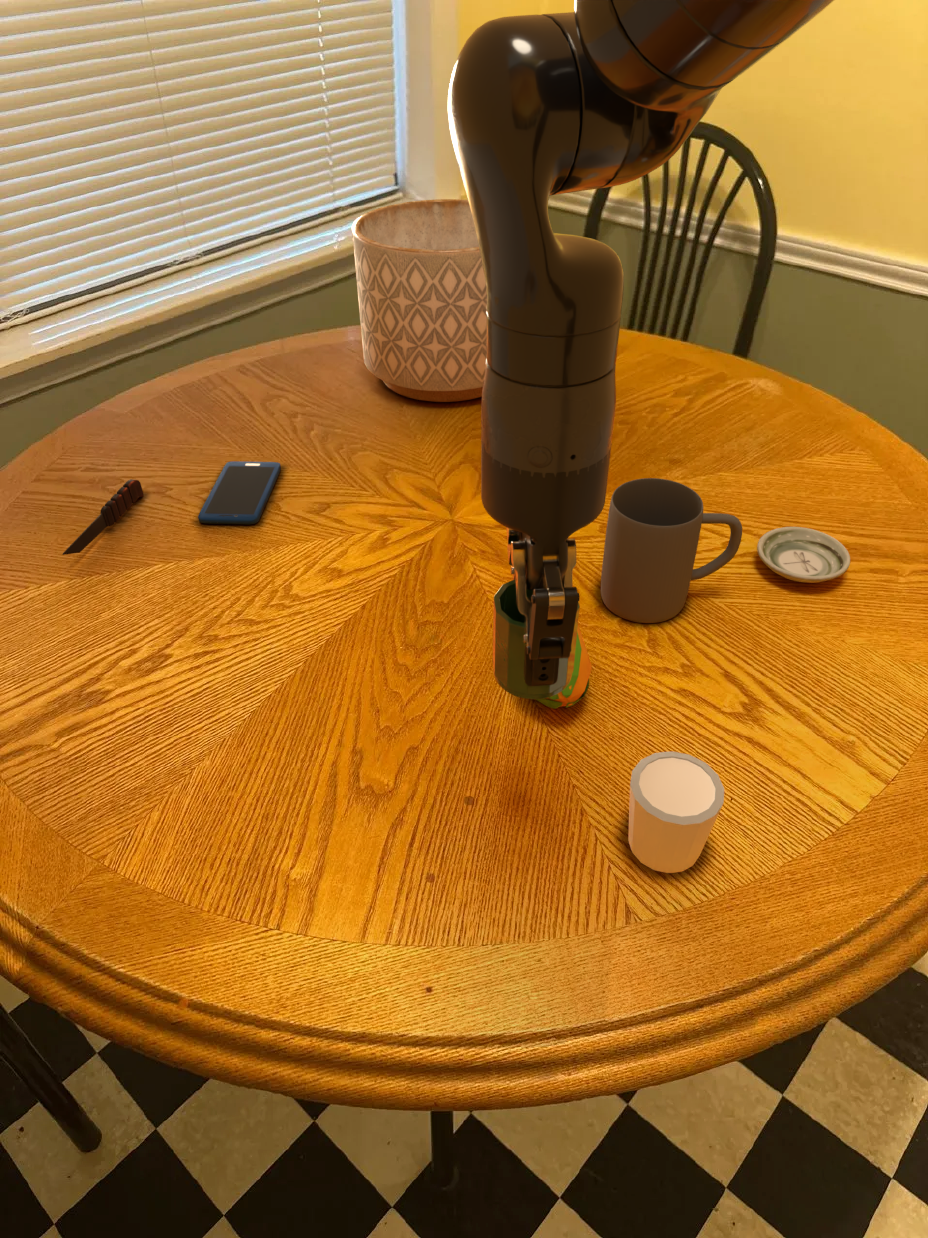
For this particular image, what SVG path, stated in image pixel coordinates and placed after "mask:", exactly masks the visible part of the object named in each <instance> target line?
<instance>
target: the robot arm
mask: <svg viewBox="0 0 928 1238" xmlns="http://www.w3.org/2000/svg"><path fill="white" fill-rule="evenodd" d="M833 2H835V0H573V11H571V12H570V11H569V12H555V13H542V14H523V15H522V14H521V15H510V16H502V17H498V18H494V19H491V20H488V21H486V22H484V23H482V25H480V26H479V27H477V28H476V29H475V30H474V31H473V32H472V34H470V36H469V37H468V38H467V40H466V41H465V43H464V45H463V46H462V48H461V50H460V52H459V54H458V56H457V58H456V61H455V64H454V66H453V69H452V73H451V77H450V81H449V82H450V83H449V87H448V92H447V93H448V95H447V117H448V128H449V134H450V139H451V143H452V148H453V152H454V156H455V159H456V163H457V167H458V171H459V174H460V177H461V181H462V184H463V188H464V191H465V195H466V198H467V200H468V202H469V206H470V210H471V214H472V218H473V222H474V227H475V232H476V236H477V241H478V245H479V250H480V255H481V260H482V265H483V270H484V276H485V282H486V291H487V309H486V310H487V312H486V370H485V377H484V383H483V391H482V397H481V405H480V406H481V408H480V409H481V410H480V411H481V412H480V413H481V420H480V421H481V423H480V425H481V434H480V435H481V438H480V439H481V440H480V442H481V443H480V444H481V445H480V446H481V447H480V449H481V450H480V452H481V453H480V456H481V457H480V496H481V497H480V498H481V503H482V506H483V508H484V510H485V512H486V513H487V515H489V517H490V518H491V519H493V520H494V521H495V522H497V523H498V524H500V525H501V526H503V527H505V530H506V537H507V538H506V540H507V547H506V550H507V556H508V557H507V558H508V560H507V561H508V565H510V566H511V567H510V575H512V580H514V579H516V605H517V607H518V610H519V612H520V613H521V614H523V615H524V632H525V635H523V643H525V658H524V679H525V683H526V684H527V685H528V686H543V685H553V684H555V683H556V682H557V680H558V670H559V658H569V657H570V652H571V644H572V638H573V632H574V625H575V619H576V613H577V606H578V602H580V592H578V589H577V586H573V570H574V568H575V567H576V566H577V542H576V538H570V537H571V536H572V535H573V534H575V533H576V532H578V531H579V530H582V529H583V528H585V527H587V526H588V525H590V524H592V523H593V522H594V521H595V520H596V519H597V518H598V517H599V516H600V515H601V514H602V512H603V510H604V508H605V505H606V499H607V498H606V497H607V488H608V480H609V473H610V462H611V454H612V441H613V435H614V434H613V433H614V427H615V426H614V425H615V416H616V410H617V409H616V407H617V386H616V369H617V368H616V367H617V356H618V347H619V337H620V329H621V319H622V309H623V301H624V288H625V273H624V269H623V263H622V260H621V258H620V256H619V254H617V252H616V251H615V250H614V249H613V247H610V246H609V245H608V244H606V243H604V242H603V241H600V240H597V239H594V238H590V237H586V236H582V235H576V234H567V233H559V232H558V233H557V232H554V231H553V227H552V223H551V221H550V216H549V199H550V197H551V196H556V195H563V194H571V193H576V192H577V193H579V192H584V191H592V190H598V189H604V188H605V189H607V188H611V187H617V186H621V185H624V184H629V183H631V182H633V181H636V180H638V179H641V178H642V177H644V176H646V175H648V174H650V173H652V172H654V171H655V170H657V169H658V168H660V167H661V166H663V165H665V164H666V163H667V162H669V160H671V158H673V157H674V156H675V155H676V154H677V152H678V151H679V150H680V149H681V147H682V146H683V145H684V144H685V142H686V141H687V139H688V138H689V137H690V135H691V134H692V133H693V131H694V130H695V128H696V127H697V126H698V124H699V123H700V121H701V120H702V119H703V118H704V117H705V115H706V114H707V113H708V111H709V110H710V108H711V107H712V105H713V103H714V102H715V101H716V99H717V97H718V96H719V94H720V92H721V90H722V89H723V88H724V87H726V86H728V85H729V84H730V83H732V81H734V80H735V79H737V78H738V77H739V76H741V75H742V74H744V73H745V72H746V71H747V70H749V69H751V67H753V66H754V65H755V64H757V63H758V62H760V61H761V60H762V59H763V58H765V57H766V56H768V54H770V53H771V52H772V51H774V50H775V49H777V48H778V47H780V46H781V45H782V44H783V43H785V41H788V39H789V38H791V37H792V36H793V35H794V34H796V33H797V32H798V31H800V30H801V29H802V28H803V27H804V26H806V25H807V24H808V23H809V22H810V21H812V20H813V19H815V18H816V17H817V16H818V15H819V14H821V13H822V12H823V11H824V10H825V9H827V8H828V7H829V6H830V5H831V4H833ZM528 589H530V590H532V591H533V595H532V596H531V598H529V597H527V596H526V590H528Z"/></svg>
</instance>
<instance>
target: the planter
mask: <svg viewBox="0 0 928 1238" xmlns="http://www.w3.org/2000/svg"><path fill="white" fill-rule="evenodd" d="M351 233H352V244H353V255H354V267H355V279H356V287H357V289H356V290H357V300H358V301H357V302H358V311H359V322H360V323H359V324H360V332H361V345H362V355H363V356H362V357H363V364H364V365H365V367H366V369H367V370H368V371H369V372H370V374H372V375H373V376H375V377H376V378H377V379H379V380H381V381H383V384H385V386H386V387H387V389H390V390H391V391H392V392H394V393H397V394H399V395H401V396H403V397H406V398H410V399H414V400H417V401H418V400H419V401H424V402H436V403H453V402H463V401H469V400H470V401H471V400H475V399H478V398H482V391H483V383H484V377H485V370H486V312H487V310H486V309H487V291H486V282H485V276H484V270H483V265H482V260H481V255H480V250H479V245H478V241H477V236H476V232H475V227H474V222H473V218H472V214H471V210H470V206H469V202H468V199H458V198H455V199H454V198H443V199H442V198H440V199H439V198H438V199H422V200H421V199H420V200H412V201H405V202H399V203H393V204H389V205H385V206H381V207H377V208H375V209H372V210H369V211H367V212H365V213H363V214H361V215H360V216H359V217H357V218H356V219H355V220H354V221H353V223H352V226H351Z"/></svg>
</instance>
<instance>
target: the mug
mask: <svg viewBox="0 0 928 1238" xmlns="http://www.w3.org/2000/svg"><path fill="white" fill-rule="evenodd" d="M606 521H607V522H606V530H605V539H604V547H603V554H602V555H603V556H602V566H601V576H600V596H601V600H602V602H603V604H604V606H605V607H606V608H607V609H608V610H609V611H610V612H612V613H613V614H614V615H616V616H618V617H620V618H623V620H627V621H630V622H635V623H638V624H639V623H641V624H657V623H662V622H665V621H668V620H672V619H673V618H675V617H676V616H677V615H678V614H680V612H681V611H682V610H683V609H684V606H685V604H686V601H687V597H688V593H689V589H690V584H691V581H697V580H702V579H703V578H705V577H708V576H711V575H712V574H714V573H715V572H717V571H719V570H720V569H722V568H723V567H724V566H726V565H727V564H729V562H731V561H732V559H734V557H735V556H736V555H737V553H738V552H739V549H740V546H741V542H742V539H743V525H742V522H741V520H740V519H739V518H738V517H737V516H735V515H733V514H731V513H730V514H729V513H721V512H719V513H718V512H704V502H703V500H702V498H701V496H700V495H699V494H698V493H697V492H696V491H695V490H694V489H693V488H691V487H689V486H687V485H685V484H683V483H680V482H678V481H674V480H670V479H665V478H658V477H657V478H656V477H645V478H636V479H633V480H629V481H626V482H624V483H622V484H620V485H619V486H617V488H615V490H614V491H613V493H612V494H611V498H610V503H609V507H608V516H607V520H606ZM708 524H711V525H712V524H714V525H717V524H718V525H720V524H721V525H727V526H728V527H729V530H730V533H729V539H728V543H727V545H726V547H725V549H724V550H723V551H722V552H721V553H720V554H719V555H717V556H716V557H715V558H713V559H712V560H711V561H709V562H707V563H706V564H704V565H702V566H700V567H697V568H694V566H695V561H696V556H697V551H698V545H699V540H700V534H701V531H702V525H708Z"/></svg>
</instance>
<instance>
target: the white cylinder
mask: <svg viewBox="0 0 928 1238" xmlns="http://www.w3.org/2000/svg"><path fill="white" fill-rule="evenodd" d="M628 802H629V804H628V806H629V807H628V835H627V836H628V837H627V842H628V844H629V847H630V850H631V853H632V854H633V855H634V856H635V858H636V859H637V860H638V861H639V862H640V864H643V865H644V866H646V867H647V868H649V869H651V870H652V871H656V872H659V873H660V872H661V873H666V874H674V873H682V872H684V871H686V870H688V869H690V868H691V867H693V866H694V865H695V863H696V862H697V860H698V859H699V858H700V856H701V853H702V851H703V849H704V847H705V845H706V843H707V841H708V838H709V836H710V834H711V832H712V829H713V827H714V825H715V823H716V821H717V819H718V816H719V815H720V812H721V809H722V808H723V805H724V802H725V787H724V784H723V783H722V781H721V778H720V775H719V774H718V773H717V772H716V771H715V770H714V769H713V768H712V767H711V766H710V765H709V764H708V763H706V762H705V761H703V760H702V759H699V758H697V757H696V756H693V755H691V754H688V753H683V752H679V751H678V752H677V751H671V750H670V751H669V750H668V751H659V752H654V753H652V754H650V755H648V756H646V757H644V758H642V759H640V760H639V761H638V763H637V764H636V766H635V767H634V768H633V769H632V770H631V777H630V782H629V801H628Z"/></svg>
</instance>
